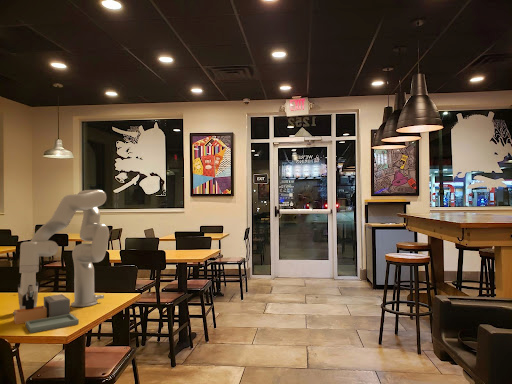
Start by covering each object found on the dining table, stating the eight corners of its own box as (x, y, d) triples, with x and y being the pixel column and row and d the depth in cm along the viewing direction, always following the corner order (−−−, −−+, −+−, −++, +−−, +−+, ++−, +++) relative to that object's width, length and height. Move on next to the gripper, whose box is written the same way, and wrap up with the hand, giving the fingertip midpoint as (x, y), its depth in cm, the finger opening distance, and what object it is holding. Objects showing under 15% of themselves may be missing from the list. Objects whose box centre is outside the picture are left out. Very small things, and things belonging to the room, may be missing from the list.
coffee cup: (41, 310, 192) (41, 280, 193) (21, 314, 185) (21, 283, 186) (34, 308, 198) (34, 278, 199) (14, 311, 191) (14, 281, 192)
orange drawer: (44, 316, 182) (44, 305, 183) (46, 319, 177) (46, 308, 177) (12, 321, 175) (12, 310, 175) (14, 324, 169) (14, 313, 170)
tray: (71, 318, 177) (71, 313, 177) (78, 324, 166) (78, 319, 167) (25, 326, 166) (25, 321, 166) (30, 333, 155) (30, 328, 155)
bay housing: (69, 317, 179) (69, 298, 179) (50, 320, 174) (50, 301, 174) (61, 310, 191) (61, 293, 192) (43, 313, 186) (43, 296, 187)
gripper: (16, 268, 181) (15, 305, 180) (22, 271, 167) (20, 311, 166) (35, 266, 186) (34, 303, 184) (42, 269, 172) (40, 309, 171)
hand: (27, 307), depth 175 cm, fingers open, 9 cm apart
